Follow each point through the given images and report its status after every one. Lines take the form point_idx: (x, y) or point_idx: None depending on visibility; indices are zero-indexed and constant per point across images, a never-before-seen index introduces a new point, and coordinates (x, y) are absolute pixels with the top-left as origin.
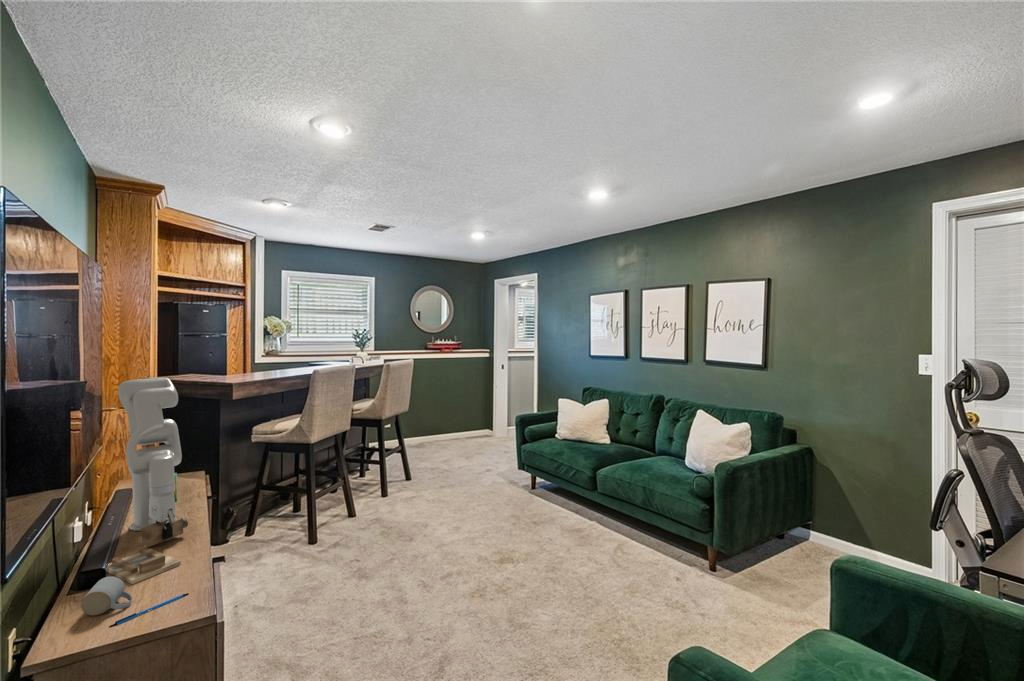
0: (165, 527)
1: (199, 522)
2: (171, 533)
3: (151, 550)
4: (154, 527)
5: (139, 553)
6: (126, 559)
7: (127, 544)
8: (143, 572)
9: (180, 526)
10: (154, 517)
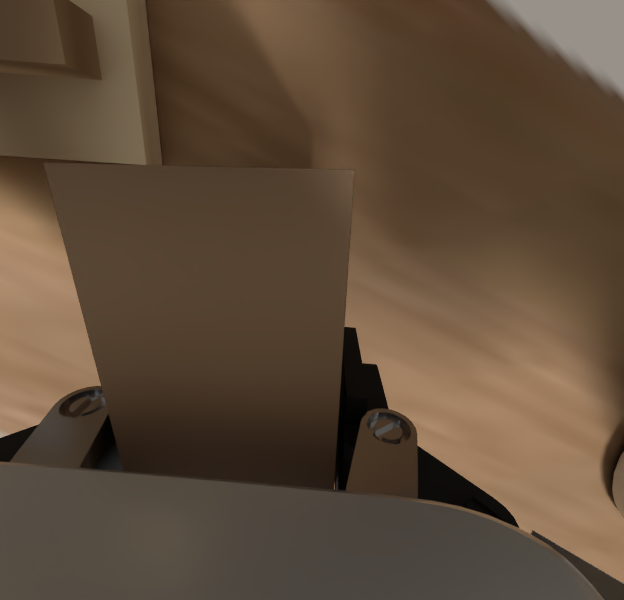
0: (53, 415)
1: None
2: None
3: (72, 138)
4: (138, 331)
5: (95, 16)
6: None
7: (577, 165)
8: None
9: None
10: (125, 571)
